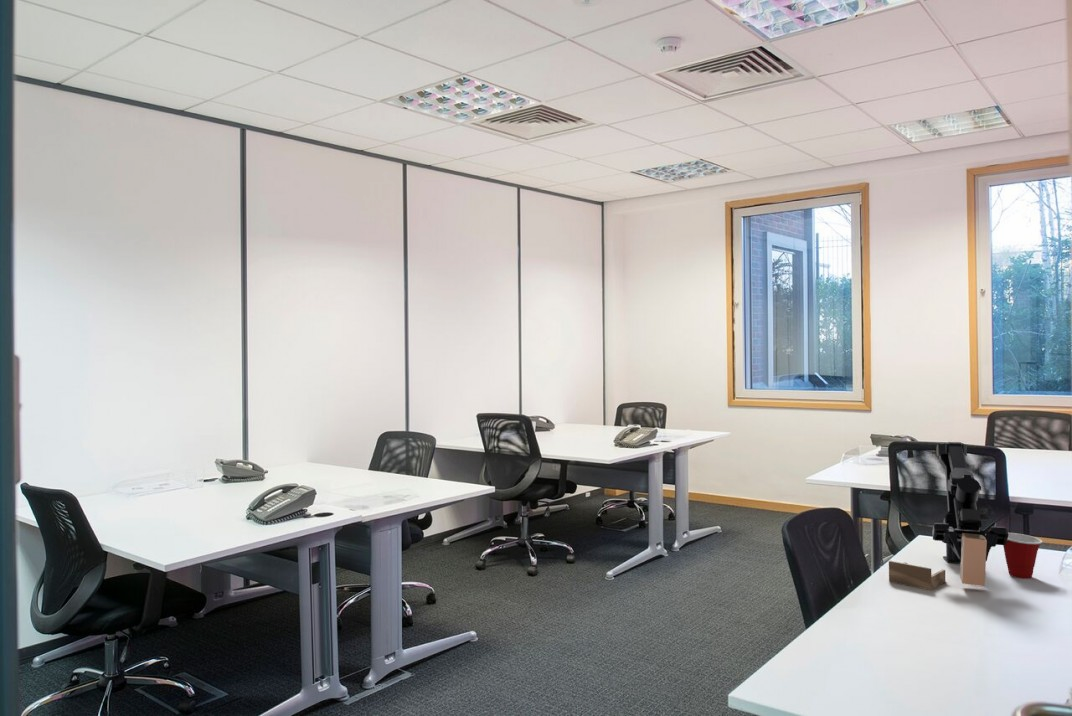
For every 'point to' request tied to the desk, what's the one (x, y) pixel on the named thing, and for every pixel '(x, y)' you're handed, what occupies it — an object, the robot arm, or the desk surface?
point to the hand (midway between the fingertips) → (973, 559)
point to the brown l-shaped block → (915, 575)
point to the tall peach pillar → (973, 559)
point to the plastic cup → (1021, 554)
